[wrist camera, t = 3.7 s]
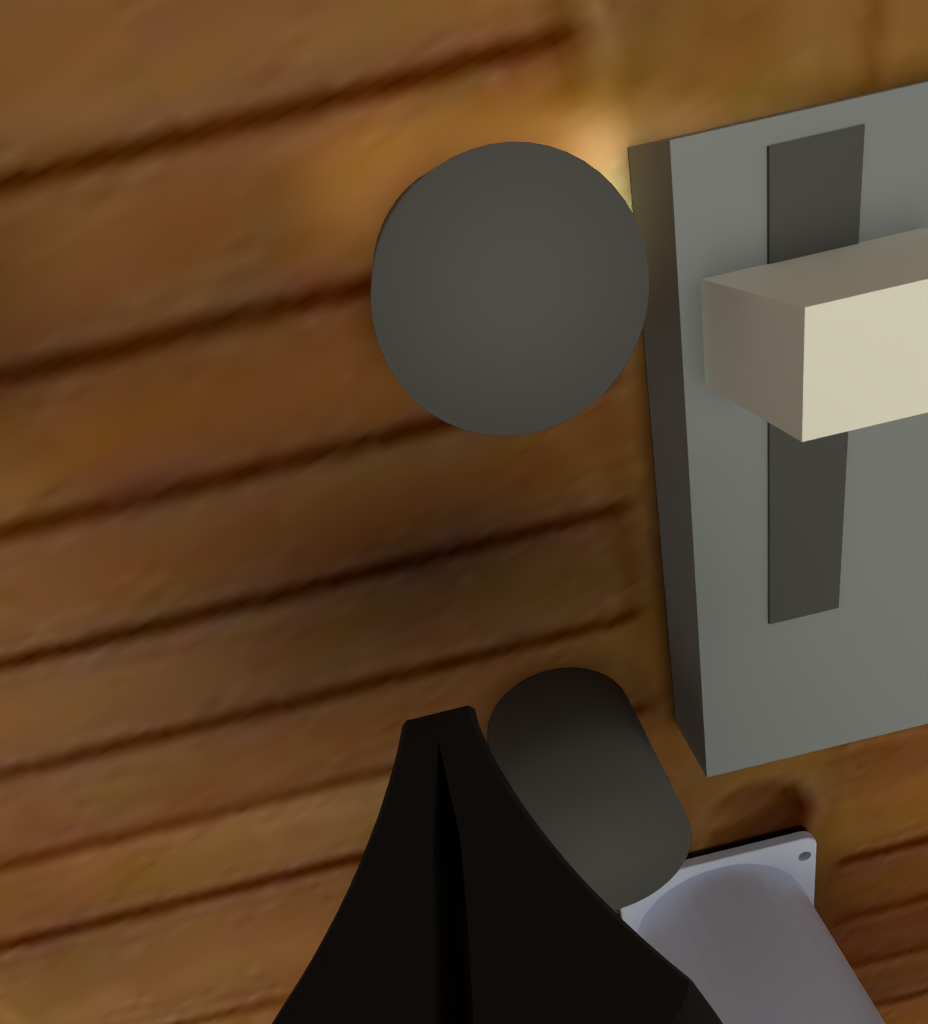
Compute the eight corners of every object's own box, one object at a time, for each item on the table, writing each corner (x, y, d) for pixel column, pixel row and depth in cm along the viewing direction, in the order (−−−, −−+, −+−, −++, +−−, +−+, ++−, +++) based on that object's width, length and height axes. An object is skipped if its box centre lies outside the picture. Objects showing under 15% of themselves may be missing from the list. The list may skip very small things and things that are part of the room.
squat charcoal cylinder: (586, 354, 18) (657, 406, 13) (398, 394, 18) (405, 460, 13) (563, 139, 16) (638, 114, 11) (350, 183, 15) (338, 175, 11)
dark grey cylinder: (637, 761, 24) (695, 890, 20) (501, 794, 24) (529, 931, 20) (623, 652, 22) (686, 768, 18) (474, 687, 22) (499, 814, 18)
